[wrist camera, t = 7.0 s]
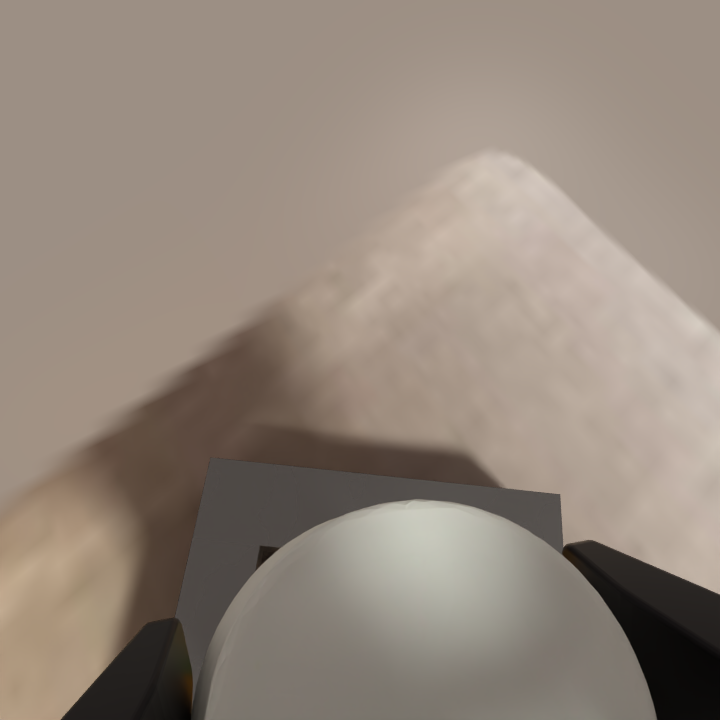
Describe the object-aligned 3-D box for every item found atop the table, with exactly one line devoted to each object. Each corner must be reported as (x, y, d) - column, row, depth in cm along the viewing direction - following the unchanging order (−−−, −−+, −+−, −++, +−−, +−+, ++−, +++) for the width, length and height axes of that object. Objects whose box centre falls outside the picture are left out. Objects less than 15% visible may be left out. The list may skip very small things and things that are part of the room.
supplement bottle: (470, 896, 12) (784, 1371, 4) (215, 814, 13) (-30, 1070, 4) (506, 614, 15) (742, 510, 6) (294, 554, 15) (243, 382, 7)
